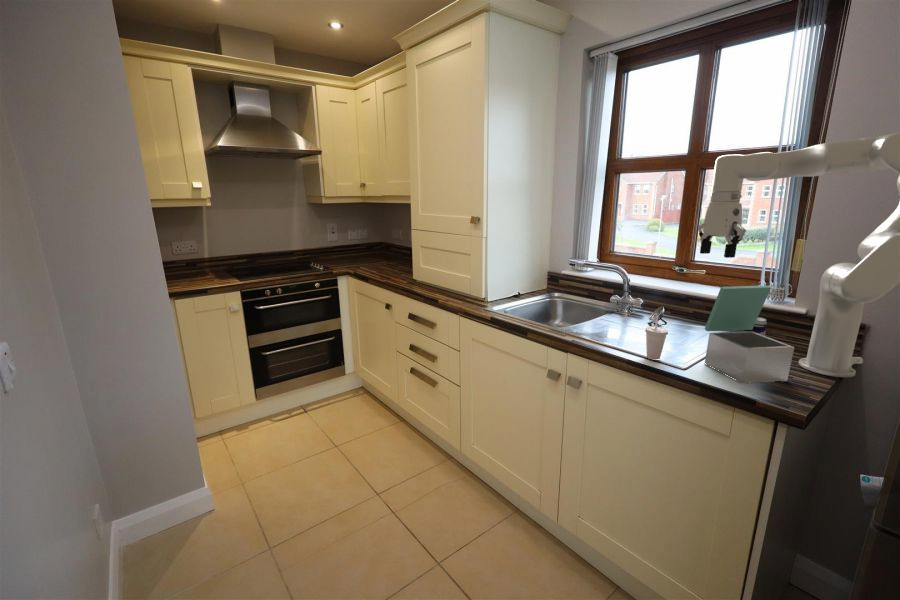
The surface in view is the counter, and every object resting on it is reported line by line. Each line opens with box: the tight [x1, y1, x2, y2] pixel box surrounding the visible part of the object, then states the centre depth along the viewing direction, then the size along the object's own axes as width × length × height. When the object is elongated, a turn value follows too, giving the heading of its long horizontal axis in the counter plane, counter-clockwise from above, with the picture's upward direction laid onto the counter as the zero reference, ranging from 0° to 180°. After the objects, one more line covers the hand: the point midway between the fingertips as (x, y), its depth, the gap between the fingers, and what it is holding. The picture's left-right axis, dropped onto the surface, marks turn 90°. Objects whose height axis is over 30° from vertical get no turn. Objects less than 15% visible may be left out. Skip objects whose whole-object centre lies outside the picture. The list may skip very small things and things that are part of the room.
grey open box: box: [704, 330, 795, 384], centre depth 119 cm, size 14×14×10 cm
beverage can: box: [743, 316, 768, 336], centre depth 133 cm, size 6×6×12 cm
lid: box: [704, 285, 772, 332], centre depth 122 cm, size 15×14×2 cm
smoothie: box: [644, 314, 669, 359], centre depth 129 cm, size 6×6×14 cm
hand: (716, 255), depth 128 cm, fingers open, 9 cm apart
